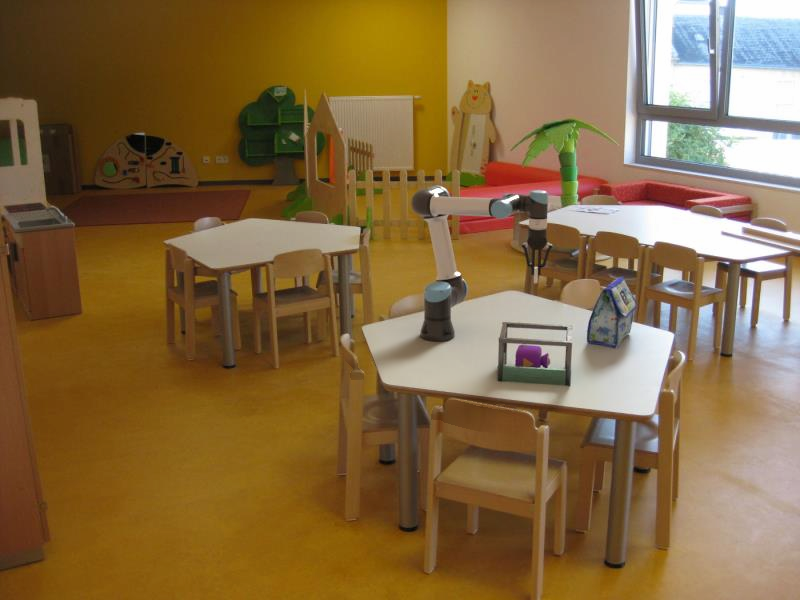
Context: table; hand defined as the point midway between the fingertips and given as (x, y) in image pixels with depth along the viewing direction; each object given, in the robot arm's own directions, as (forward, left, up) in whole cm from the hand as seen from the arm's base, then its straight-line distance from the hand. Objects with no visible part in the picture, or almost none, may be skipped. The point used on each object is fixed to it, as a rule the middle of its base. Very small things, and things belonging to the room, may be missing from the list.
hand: (535, 282), depth 363 cm
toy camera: (+1, -35, -27) cm, 44 cm away
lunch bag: (+33, +8, -27) cm, 43 cm away
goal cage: (+2, -38, -26) cm, 46 cm away
